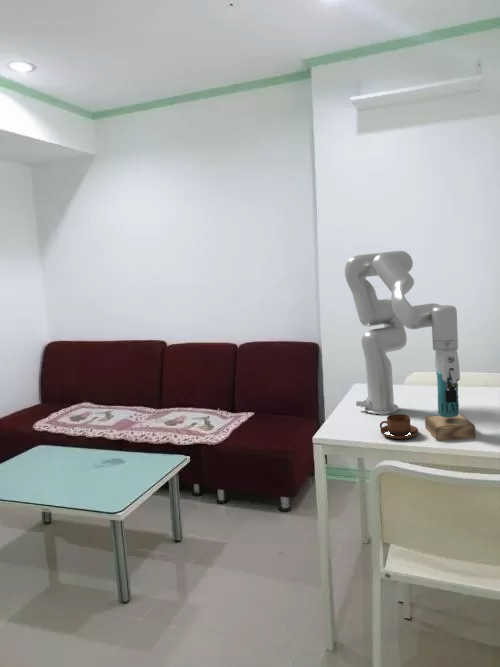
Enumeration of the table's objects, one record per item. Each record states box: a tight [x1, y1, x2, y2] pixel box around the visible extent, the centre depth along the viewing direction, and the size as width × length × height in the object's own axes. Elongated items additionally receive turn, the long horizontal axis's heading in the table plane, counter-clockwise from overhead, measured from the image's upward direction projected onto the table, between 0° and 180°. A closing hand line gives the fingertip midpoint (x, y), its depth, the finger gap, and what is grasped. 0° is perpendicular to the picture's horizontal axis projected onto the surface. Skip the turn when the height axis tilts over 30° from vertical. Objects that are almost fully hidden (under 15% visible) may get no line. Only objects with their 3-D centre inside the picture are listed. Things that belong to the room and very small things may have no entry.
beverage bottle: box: [436, 359, 460, 417], centre depth 165 cm, size 6×7×20 cm
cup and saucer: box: [379, 413, 419, 440], centre depth 169 cm, size 12×12×6 cm
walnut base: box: [424, 413, 476, 441], centre depth 166 cm, size 12×12×4 cm
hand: (447, 398), depth 165 cm, fingers closed on beverage bottle, 6 cm apart
